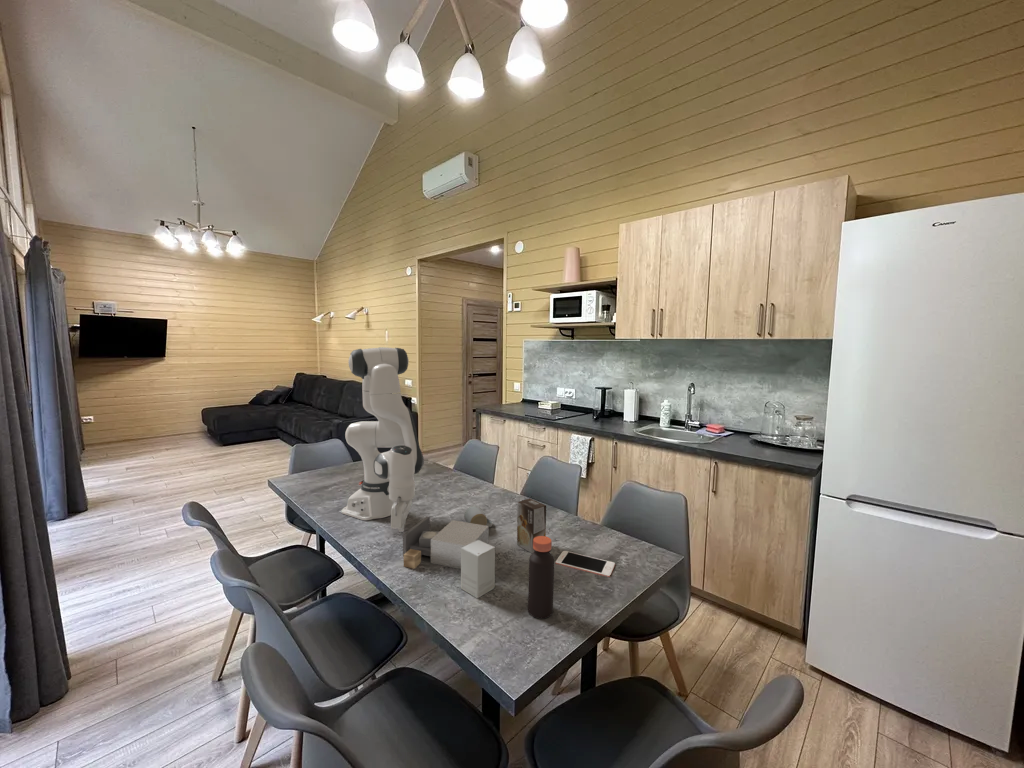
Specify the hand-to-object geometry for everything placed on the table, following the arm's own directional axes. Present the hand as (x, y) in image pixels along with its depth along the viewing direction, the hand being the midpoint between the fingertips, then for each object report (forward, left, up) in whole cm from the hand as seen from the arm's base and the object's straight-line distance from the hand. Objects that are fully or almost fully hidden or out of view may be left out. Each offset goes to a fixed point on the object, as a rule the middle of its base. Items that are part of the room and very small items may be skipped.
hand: (402, 530), depth 147 cm
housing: (+23, 0, -5) cm, 23 cm away
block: (+11, -11, -5) cm, 16 cm away
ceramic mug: (+20, +23, -6) cm, 31 cm away
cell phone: (+64, +9, -6) cm, 65 cm away
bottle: (+56, -20, -5) cm, 60 cm away
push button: (+11, 0, -3) cm, 11 cm away
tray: (+12, 0, -5) cm, 13 cm away
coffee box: (+44, +14, -5) cm, 46 cm away
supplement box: (+36, -16, -5) cm, 40 cm away
